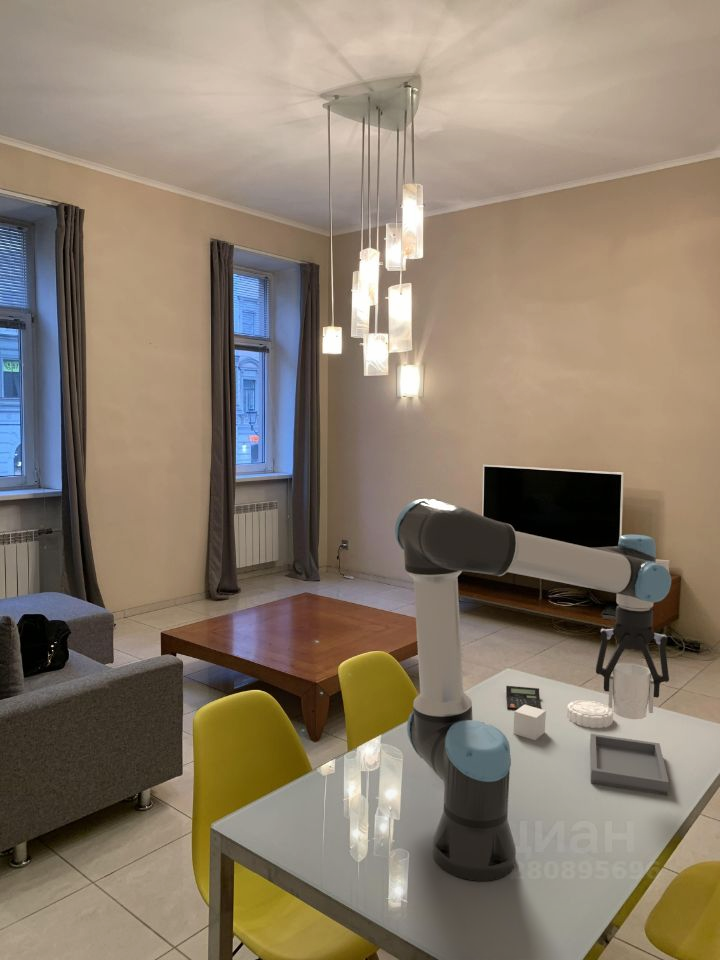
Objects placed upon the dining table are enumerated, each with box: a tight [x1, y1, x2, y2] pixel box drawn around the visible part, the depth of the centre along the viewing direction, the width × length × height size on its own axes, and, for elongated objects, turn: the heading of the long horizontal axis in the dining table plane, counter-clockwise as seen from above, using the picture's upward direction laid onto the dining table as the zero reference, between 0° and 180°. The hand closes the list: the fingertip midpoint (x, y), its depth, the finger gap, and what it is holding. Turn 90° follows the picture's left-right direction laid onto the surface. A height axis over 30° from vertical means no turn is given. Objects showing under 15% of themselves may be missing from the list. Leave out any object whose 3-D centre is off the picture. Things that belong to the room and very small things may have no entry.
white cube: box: [513, 705, 547, 741], centre depth 187 cm, size 6×6×6 cm
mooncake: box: [566, 699, 614, 729], centre depth 197 cm, size 12×12×4 cm
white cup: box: [612, 662, 652, 720], centre depth 159 cm, size 8×8×10 cm
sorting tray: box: [589, 733, 670, 796], centre depth 169 cm, size 20×16×3 cm
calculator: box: [505, 685, 543, 711], centre depth 207 cm, size 9×12×3 cm
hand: (630, 707), depth 159 cm, fingers closed on white cup, 8 cm apart
